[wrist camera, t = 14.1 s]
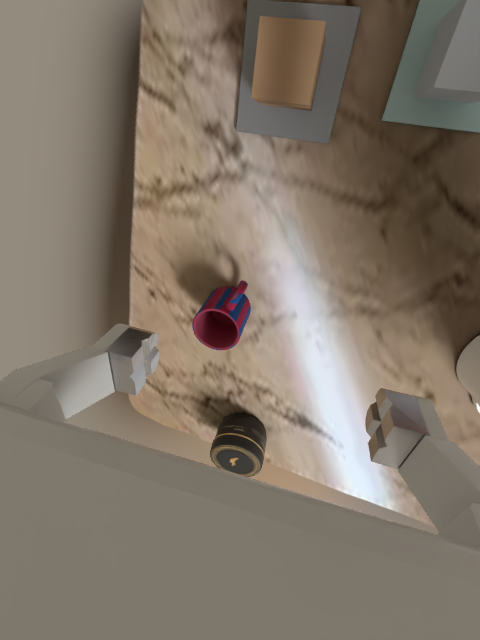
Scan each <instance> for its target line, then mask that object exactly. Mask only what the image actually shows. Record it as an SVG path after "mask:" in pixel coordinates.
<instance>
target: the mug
mask: <svg viewBox="0 0 480 640" xmlns="http://www.w3.org/2000/svg"><path fill="white" fill-rule="evenodd" d="M247 286H248V284H247V283H246V282H245V281H243V280H242V281H241V282H240V283H239V285H238V286H237V288H233V287H220V288H217V289H216V290H214V291H213V292H212V293H211V295H210V296H209V298H208V299H207V300H206V302H205V303H204V304H203V306H202V307H201V309H200V310H199V311H198V313H197V314H196V316H195V317H194V319H193V331H194V333H195V335H196V337H197V338H198V340H199V341H200V342H201V343H203V344H204V345H206V346H207V347H209V348H212V349H216V350H227V349H230V348H232V347H233V346H235V345H236V344H237V343H238V341H239V339H240V336H241V334H242V331H243V329H244V327H245V324H246V322H247V319H248V317H249V314H250V310H251V308H250V303H249V300H248V298H247V297H246V296H245V295H244V294H243V293H244V292H245V290H246V288H247Z"/></svg>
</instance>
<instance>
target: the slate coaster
mask: <svg viewBox="0 0 480 640" xmlns="http://www.w3.org/2000/svg"><path fill="white" fill-rule="evenodd" d="M360 12H361V7H354V6H340V5H326V4H313V3H299V2H285V1H271V0H248V3H247V14H246V25H245V37H244V48H243V59H242V70H241V82H240V93H239V104H238V116H237V127H236V131H239V132H246V133H254V134H261V135H268V136H275V137H283V138H290V139H297V140H304V141H312V142H319V143H326V144H328V143H329V139H330V135H331V131H332V127H333V123H334V119H335V115H336V111H337V106H338V102H339V98H340V94H341V90H342V86H343V82H344V78H345V73H346V69H347V65H348V61H349V57H350V53H351V49H352V45H353V40H354V36H355V32H356V28H357V24H358V20H359V16H360ZM260 16H266V17H279V18H291V19H304V20H316V21H326V34H325V47H324V52H323V57H322V62H321V67H320V72H319V76H318V81H317V86H316V91H315V96H314V101H313V106H312V111H307V110H299V109H291V108H283V107H274V106H266V105H262V104H260V103H259V102H257V101H255V100H253V99H252V98H251V95H252V85H253V76H254V67H255V57H256V48H257V38H258V29H259V20H260Z"/></svg>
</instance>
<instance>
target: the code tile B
mask: <svg viewBox="0 0 480 640" xmlns="http://www.w3.org/2000/svg"><path fill="white" fill-rule="evenodd" d="M459 1H460V0H419V3H418V6H417V9H416V12H415V16H414V19H413V22H412V25H411V28H410V31H409V34H408V38H407V41H406V44H405V47H404V50H403V53H402V57H401V60H400V63H399V66H398V69H397V72H396V75H395V79H394V82H393V85H392V88H391V91H390V94H389V97H388V101H387V104H386V107H385V110H384V113H383V116H382V120H381V121H388V122H396V123H404V124H412V125H420V126H428V127H436V128H444V129H452V130H460V131H468V132H476V133H480V101H479V102H475V103H462V102H453V101H444V100H436V99H427V98H418V97H413V95H414V92H415V89H416V87H417V84H418V81H419V78H420V75H421V73H422V70H423V67H424V64H425V61H426V58H427V56H428V53H429V50H430V47H431V44H432V42H433V39H434V36H435V33H436V30H437V27H438V25H439V22H440V21H441V20H442V19H443V18H444V16H445V15H446V14H447V13H448V12H449V11H450V10H451V9H452V8H453V7H454V6H455V5H456V4H457V3H458V2H459Z"/></svg>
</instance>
